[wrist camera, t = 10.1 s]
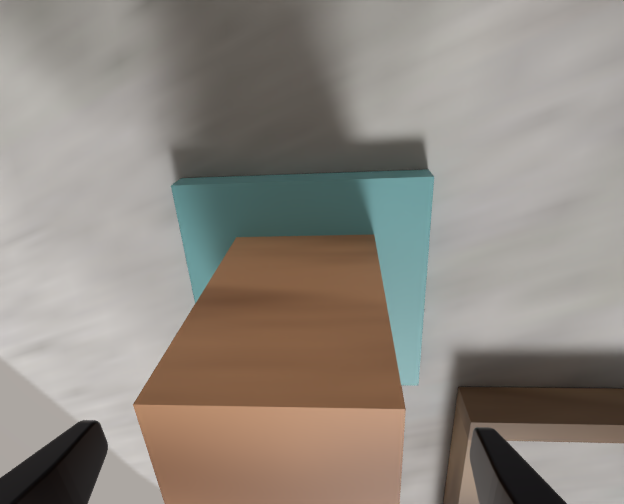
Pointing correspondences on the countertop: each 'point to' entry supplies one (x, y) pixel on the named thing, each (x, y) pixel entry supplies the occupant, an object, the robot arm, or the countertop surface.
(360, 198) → the plate
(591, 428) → the pocket frame
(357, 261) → the block
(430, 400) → the countertop surface
